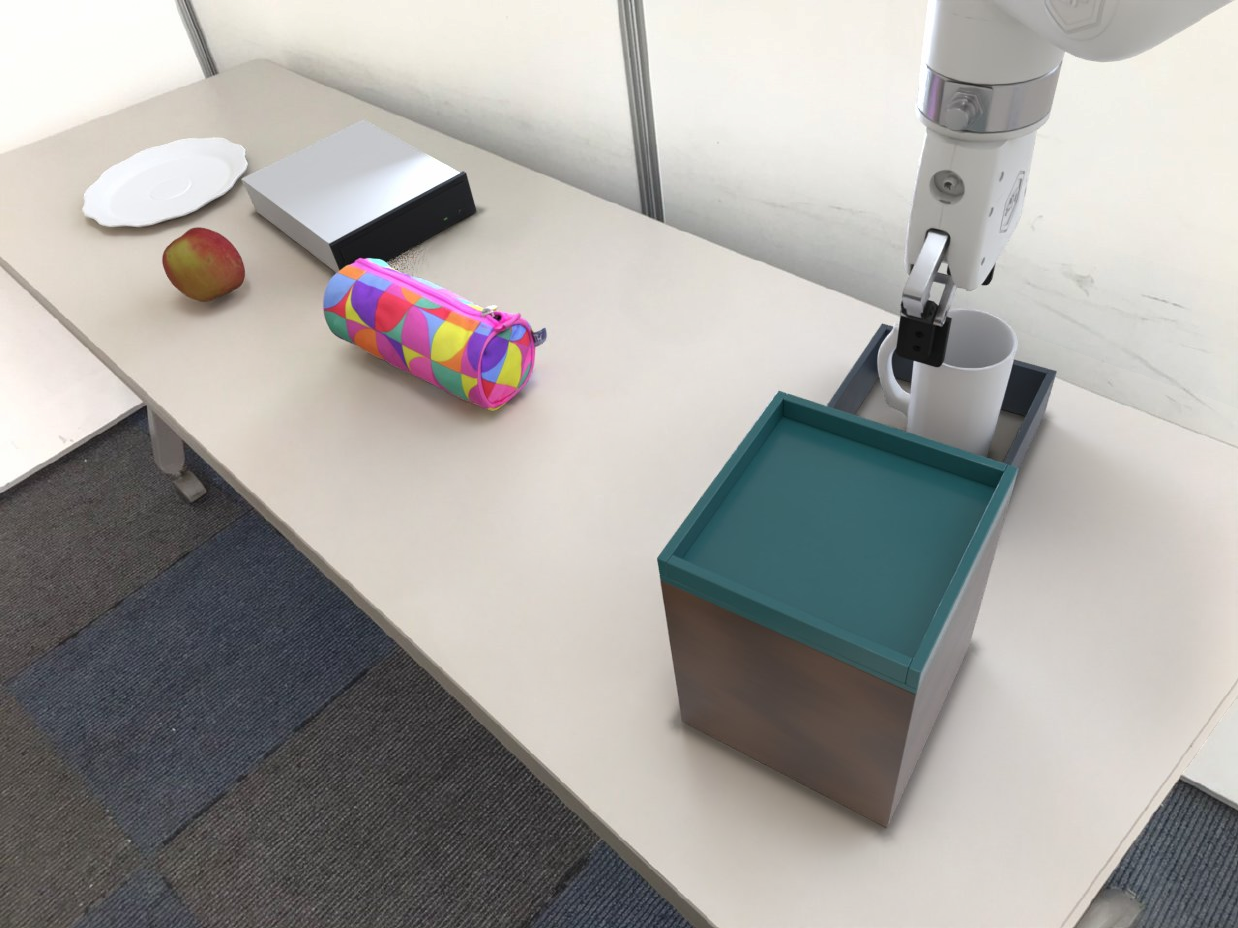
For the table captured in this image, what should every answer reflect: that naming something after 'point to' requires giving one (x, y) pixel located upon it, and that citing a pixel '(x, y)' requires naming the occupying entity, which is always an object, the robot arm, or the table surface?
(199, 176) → the plate
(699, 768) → the table surface
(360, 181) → the disc drive
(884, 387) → the mug
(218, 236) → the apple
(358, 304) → the pencil case
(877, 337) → the dark gray square frame
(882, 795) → the riser
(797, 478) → the tray
